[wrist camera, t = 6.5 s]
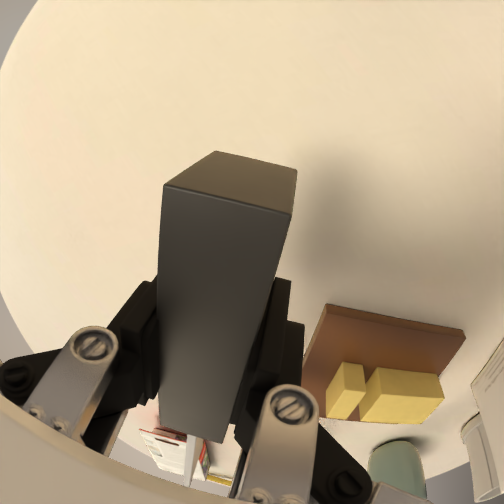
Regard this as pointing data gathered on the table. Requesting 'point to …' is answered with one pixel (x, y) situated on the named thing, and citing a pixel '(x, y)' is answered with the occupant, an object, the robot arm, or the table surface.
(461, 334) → the board
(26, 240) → the table surface
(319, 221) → the table surface
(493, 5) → the table surface
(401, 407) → the butter stick
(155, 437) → the ink box
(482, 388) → the white product box
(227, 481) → the pencil
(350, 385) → the butter pat
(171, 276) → the knife
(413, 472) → the cup
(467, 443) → the cup
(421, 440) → the table surface
